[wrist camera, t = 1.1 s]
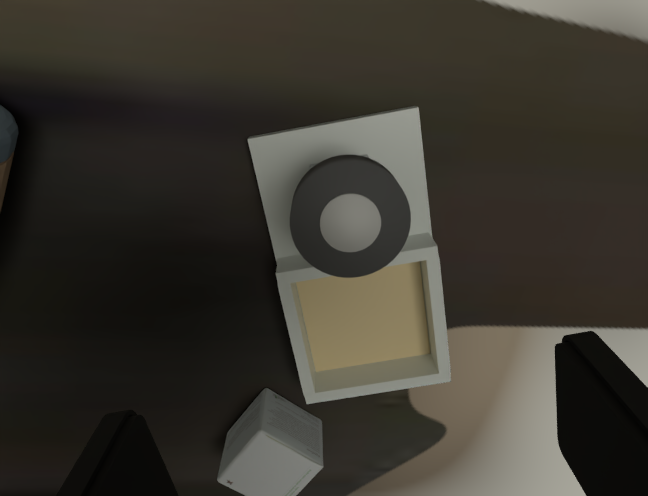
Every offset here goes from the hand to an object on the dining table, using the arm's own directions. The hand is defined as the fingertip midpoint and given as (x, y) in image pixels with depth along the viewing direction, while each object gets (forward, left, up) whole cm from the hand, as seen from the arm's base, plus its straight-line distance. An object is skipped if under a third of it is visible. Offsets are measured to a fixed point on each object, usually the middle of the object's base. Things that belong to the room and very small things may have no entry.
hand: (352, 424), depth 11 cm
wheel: (0, -1, -19) cm, 19 cm away
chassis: (-5, -1, -22) cm, 23 cm away
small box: (-19, +8, -22) cm, 30 cm away
